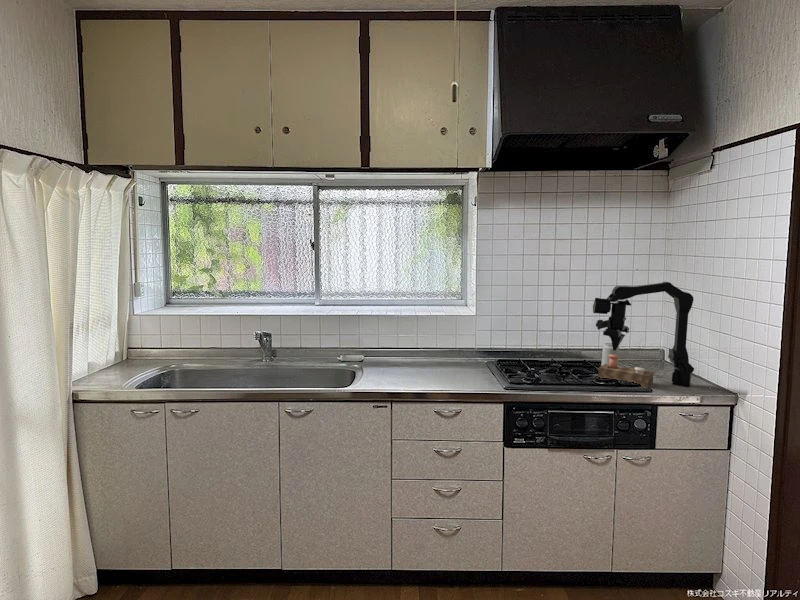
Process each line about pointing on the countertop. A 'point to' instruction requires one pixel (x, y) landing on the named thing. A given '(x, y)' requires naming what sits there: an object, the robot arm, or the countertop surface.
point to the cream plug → (639, 370)
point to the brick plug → (613, 361)
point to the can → (609, 350)
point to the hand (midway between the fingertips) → (614, 350)
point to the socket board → (626, 375)
